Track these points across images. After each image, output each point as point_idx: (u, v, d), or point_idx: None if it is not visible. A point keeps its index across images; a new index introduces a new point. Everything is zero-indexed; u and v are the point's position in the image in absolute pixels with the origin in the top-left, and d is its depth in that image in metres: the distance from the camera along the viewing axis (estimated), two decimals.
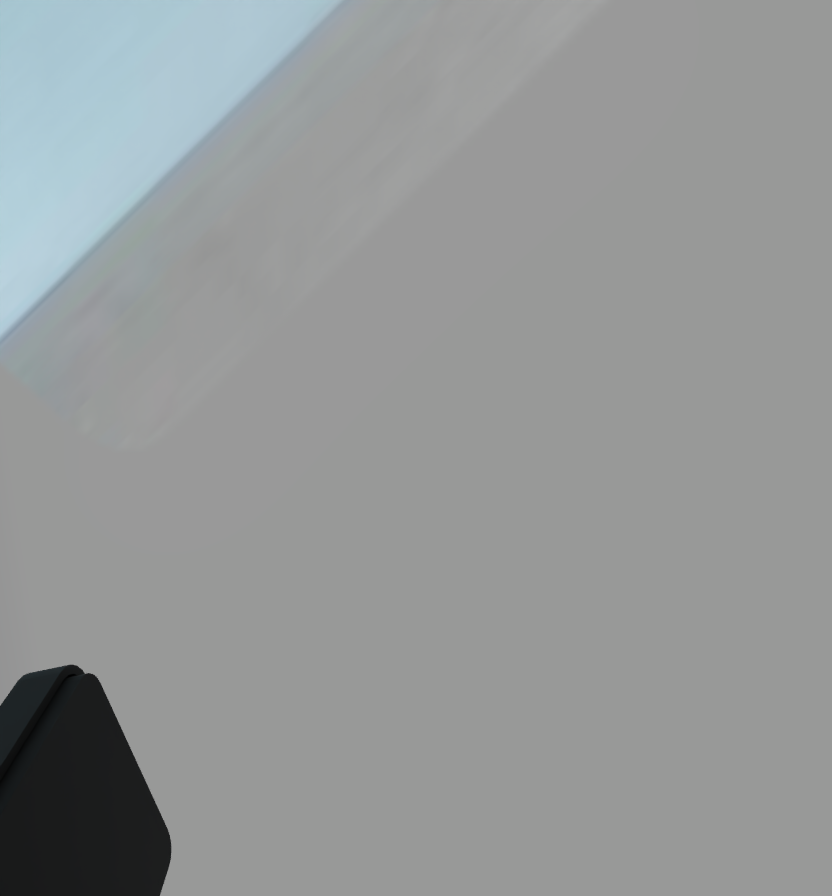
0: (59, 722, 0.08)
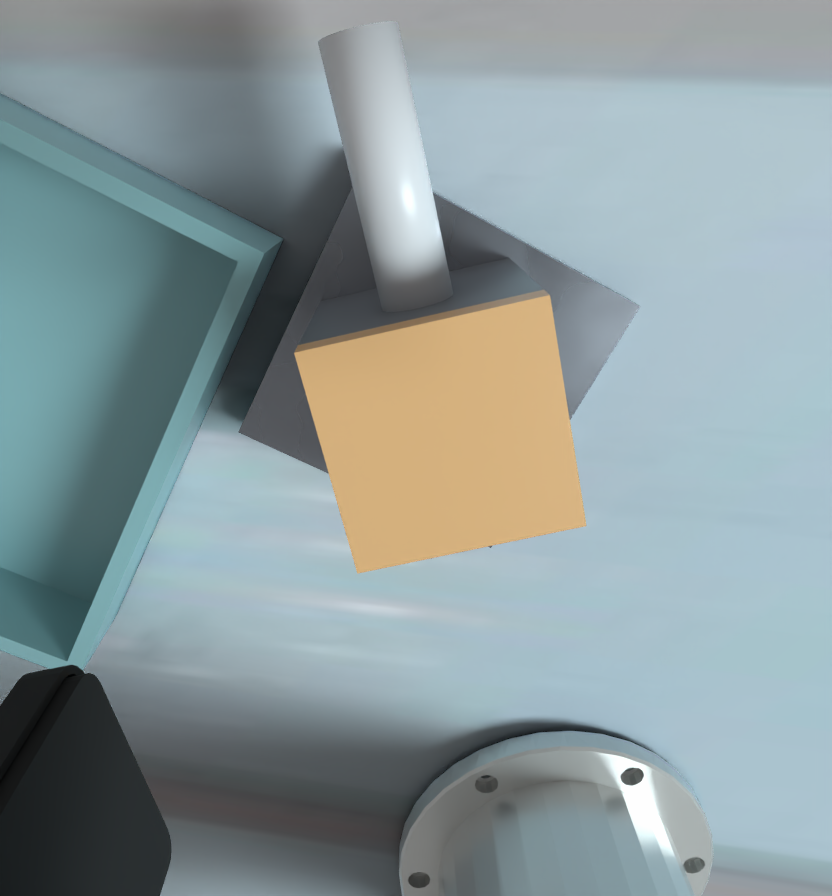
0: (59, 722, 0.08)
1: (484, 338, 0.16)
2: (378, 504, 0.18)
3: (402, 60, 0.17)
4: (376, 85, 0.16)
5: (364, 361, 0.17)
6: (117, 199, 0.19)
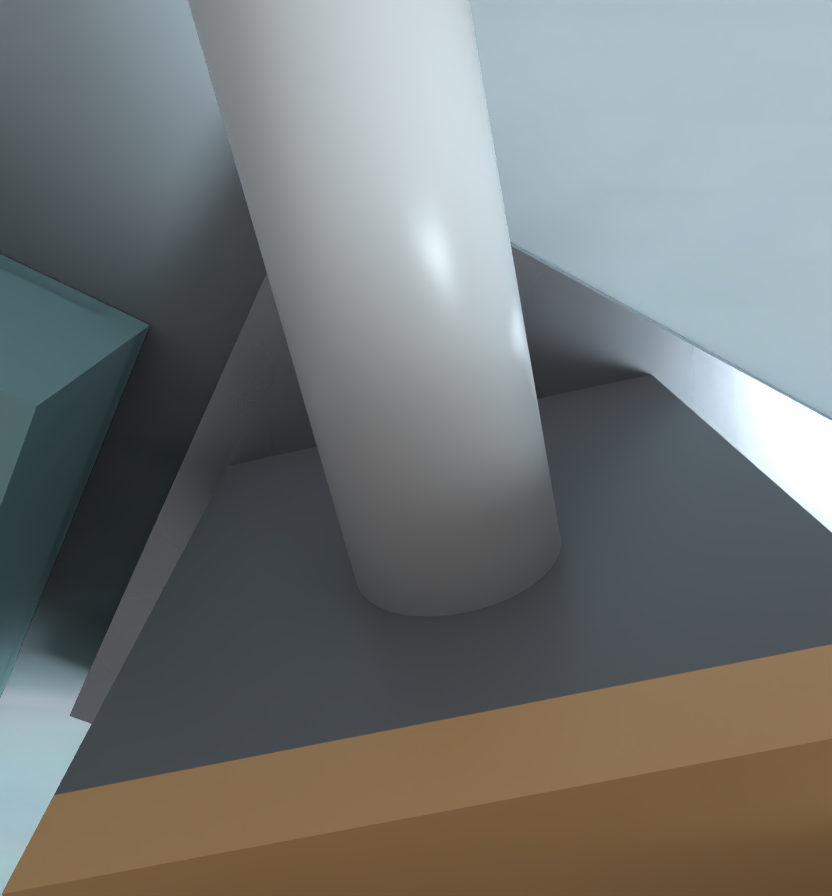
0: None
1: (738, 841, 0.04)
2: None
3: None
4: None
5: None
6: None
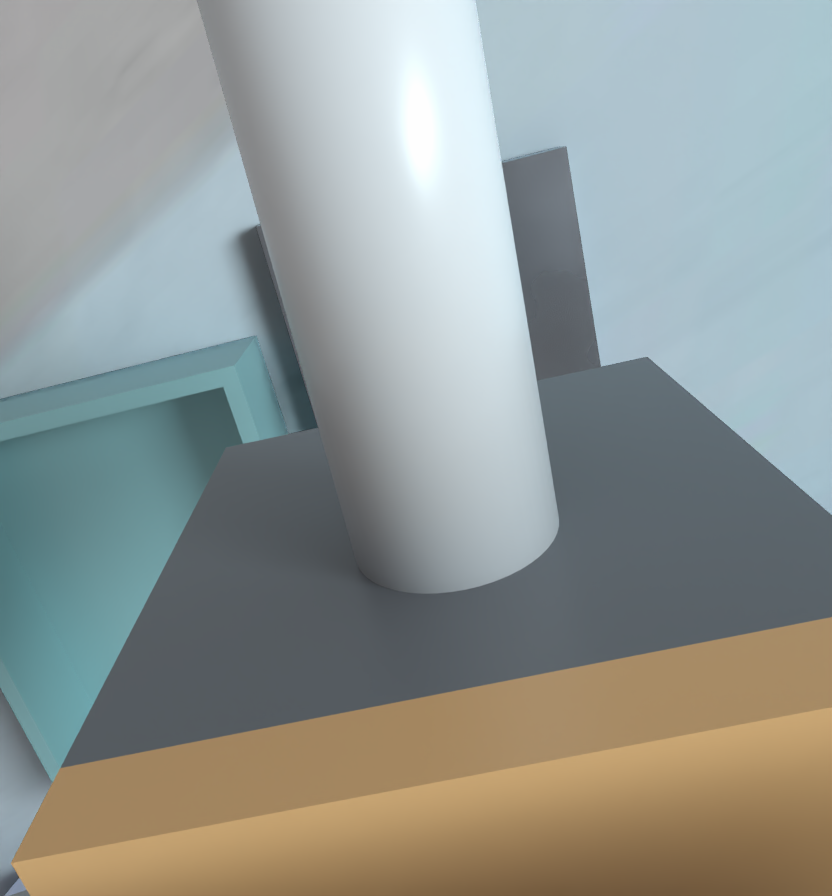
0: None
1: (734, 809, 0.04)
2: None
3: None
4: None
5: (281, 881, 0.04)
6: (111, 412, 0.21)
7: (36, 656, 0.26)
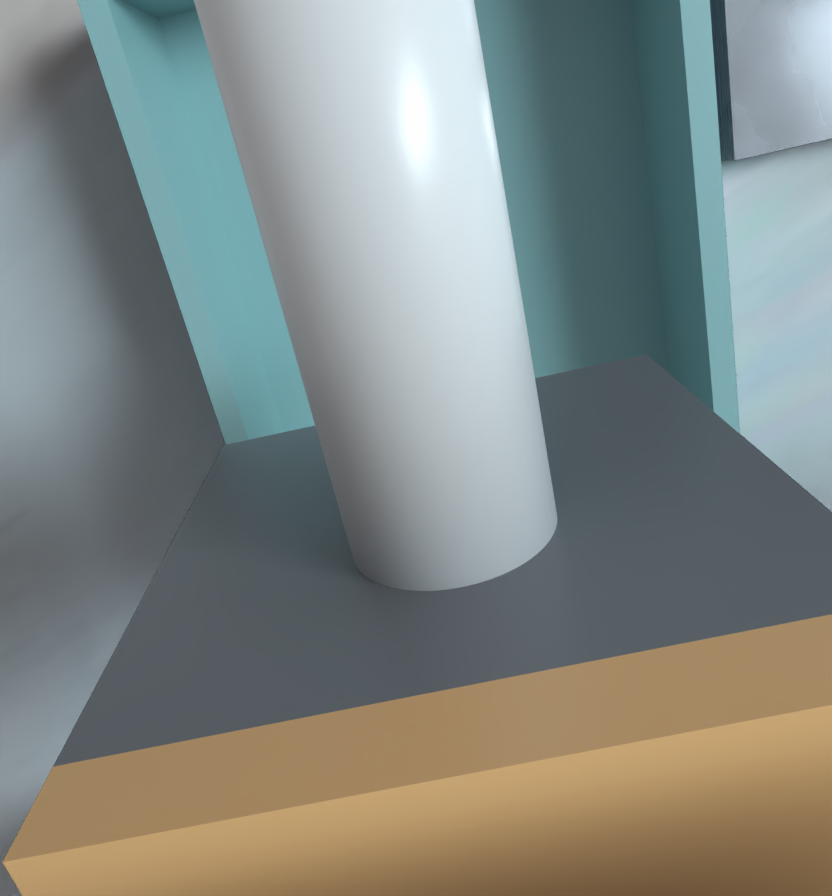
0: None
1: (732, 808, 0.04)
2: None
3: None
4: None
5: (275, 881, 0.04)
6: None
7: (255, 393, 0.17)
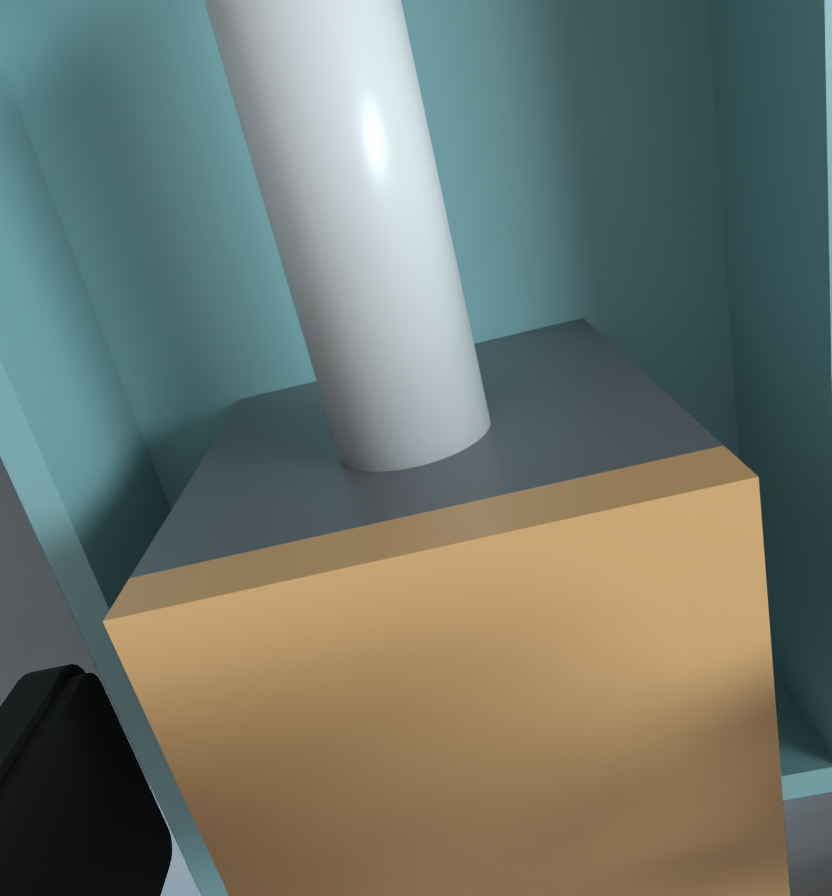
0: (60, 721, 0.08)
1: (583, 580, 0.06)
2: None
3: None
4: None
5: (282, 636, 0.07)
6: None
7: (129, 517, 0.11)
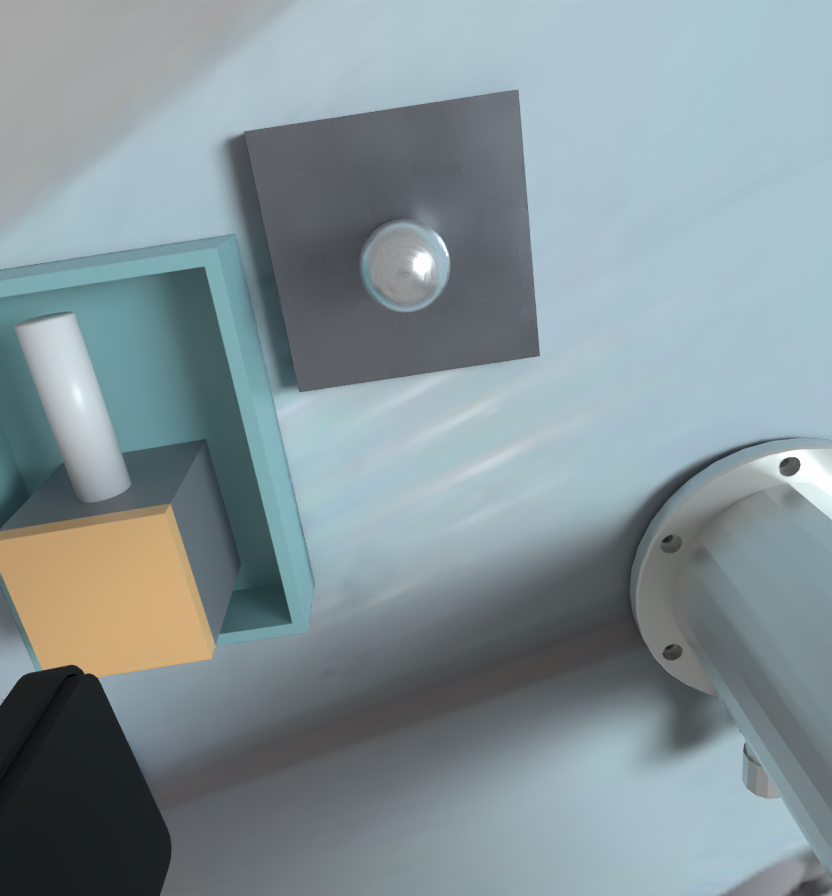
0: (59, 722, 0.08)
1: (122, 538, 0.24)
2: (59, 640, 0.25)
3: (73, 341, 0.24)
4: (51, 361, 0.23)
5: (38, 549, 0.24)
6: (103, 280, 0.24)
7: (10, 509, 0.28)
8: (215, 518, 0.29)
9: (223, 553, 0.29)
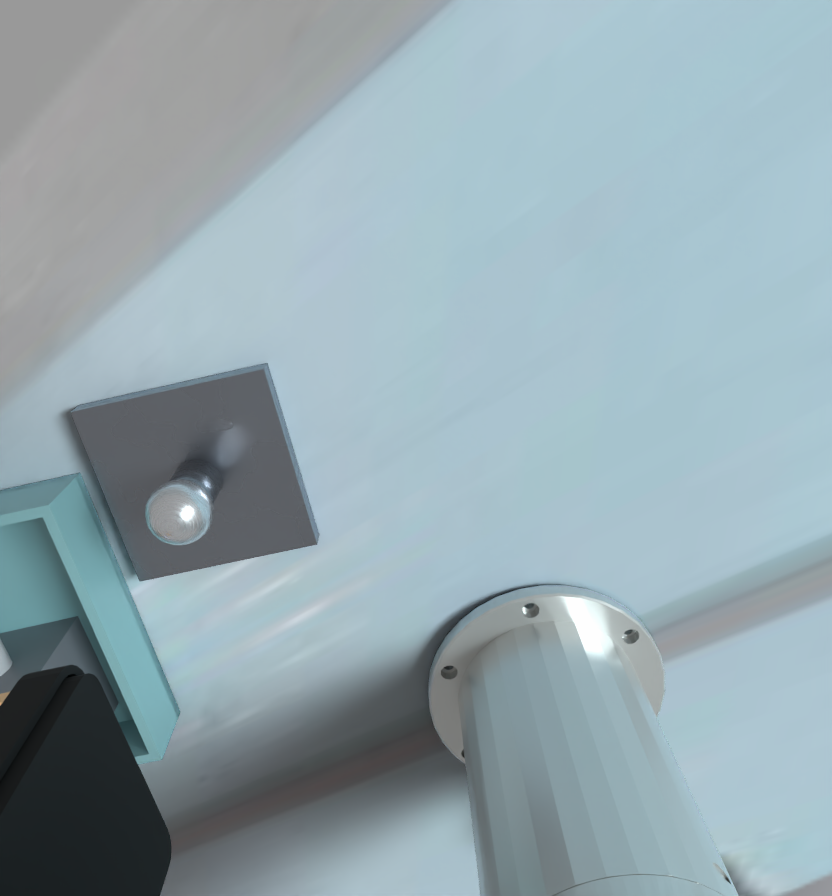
0: (59, 722, 0.08)
1: None
2: None
3: None
4: None
5: None
6: None
7: None
8: None
9: None
